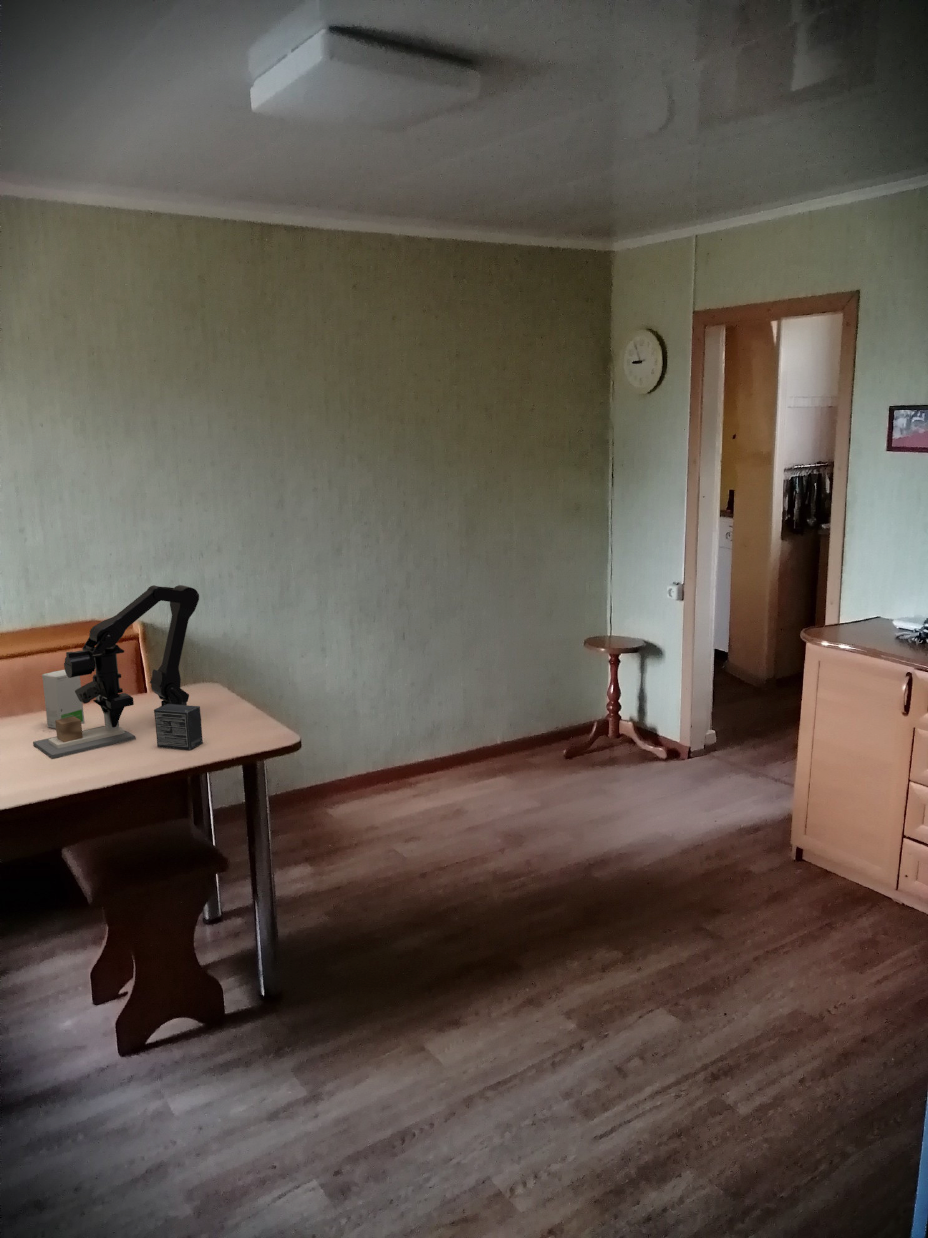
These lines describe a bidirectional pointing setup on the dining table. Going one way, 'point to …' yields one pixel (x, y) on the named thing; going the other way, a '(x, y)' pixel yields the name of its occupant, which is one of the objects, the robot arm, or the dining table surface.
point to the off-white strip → (91, 734)
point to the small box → (178, 726)
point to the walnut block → (69, 729)
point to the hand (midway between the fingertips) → (112, 726)
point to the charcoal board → (81, 745)
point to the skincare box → (61, 697)
